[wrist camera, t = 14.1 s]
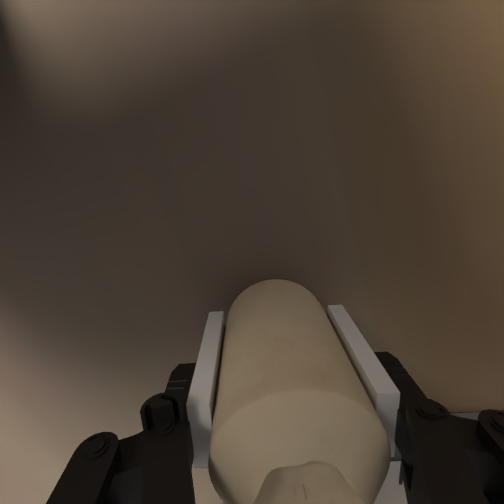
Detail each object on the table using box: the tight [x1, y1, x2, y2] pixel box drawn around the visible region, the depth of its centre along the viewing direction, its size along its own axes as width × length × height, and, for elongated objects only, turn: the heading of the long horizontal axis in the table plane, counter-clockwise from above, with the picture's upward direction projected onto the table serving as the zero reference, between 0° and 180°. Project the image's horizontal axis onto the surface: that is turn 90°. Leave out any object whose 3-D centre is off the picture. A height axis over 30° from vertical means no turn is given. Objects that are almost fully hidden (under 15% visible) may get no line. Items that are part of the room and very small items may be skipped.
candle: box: [208, 279, 391, 504], centre depth 13 cm, size 6×6×10 cm
